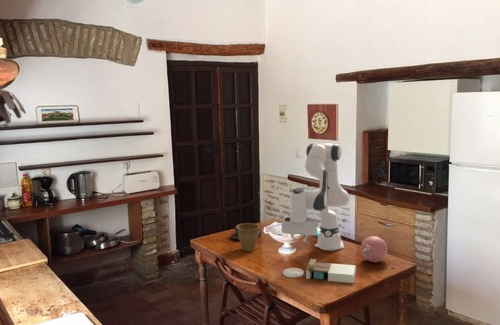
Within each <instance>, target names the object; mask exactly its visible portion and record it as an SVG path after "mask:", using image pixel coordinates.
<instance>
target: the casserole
mask: <svg viewBox="0 0 500 325" xmlns="http://www.w3.org/2000/svg"><path fill="white" fill-rule="evenodd" d="M241 224H254V222H253V223H251V222H244V223H238V224H236V225H235V227H234V231H235V233H233V234H231V235H229V236H230V238H231V239H233V240H239V236H238V232H237V226H238V225H241ZM261 234H263V231H262V230H259V233H258V236H260V235H261Z"/></svg>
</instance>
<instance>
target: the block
mask: <svg viewBox="0 0 500 325" xmlns="http://www.w3.org/2000/svg"><path fill="white" fill-rule="evenodd" d="M324 277H325V273H324V272H318V271H314V272H313V278H314V279H321V280H323V279H324Z"/></svg>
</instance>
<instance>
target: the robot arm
mask: <svg viewBox="0 0 500 325" xmlns="http://www.w3.org/2000/svg"><path fill="white" fill-rule="evenodd" d="M305 153H306V160H305V166H304V168H305V170H306V172H307V174H308V175H310V176H312V177H313V178H316V179H317V180H319V186H318V187H319V188H317V189H313V190H312V191H306V189H305V188H303V187H297V188H294V189H292V190H291V195H290V197H291V198H290V206H291V212H290V213H289V214H286V215H284V216H283V218H282V222H281V225H280V226H281V232H282V233H284V234H291V239H292V242H295V243H296V242H297V237H294V236H293V235H294V234H300V235H305V236H304V238H303V239H302V242H303V243H307V238H308V237H309V236H316V235H317V233H318V229H317V227H318V225H319V222H318V219H316V218H309V217H308V211H307V210H314V211H318V213H319V218H320V226H319V229H320V233H319V234H318V237H317V243H316V244H315V245H314V246H315V248H319V249H320V250H323V251H338V250H341V249H344V248H345V246H344V243H343V240H342V239H341V238H342V237H341V234H340V233H339V230H340V229H339V218H338V217H339V216H338V213H336V212H335V211H334V210H332V209H330V207H337V208H338V207H345V206H347V205H348V204H349V202H350V195H349V193H348V191H347V190H345V189H344V188H343V187H342V186H341V184H340V182H339V178H338V176H339V175H338V161H339V160H340V158H341V157H342V153H343V151H342V147H341V146H340V144H336V143H331V142H330V143H329V142H324V143H323V142H322V143H320V142H319V143H310V144H308V146H307V147H306V151H305ZM328 188H329V189H328Z"/></svg>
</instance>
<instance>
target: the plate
mask: <svg viewBox="0 0 500 325" xmlns="http://www.w3.org/2000/svg"><path fill="white" fill-rule="evenodd" d="M282 275H283V276H284V277H287V278H291V279H297V278H301V277H303V276H304V275H305V271H304V270H303V269H301V268H297V267H288V268H285V269H283V270H282Z"/></svg>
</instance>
